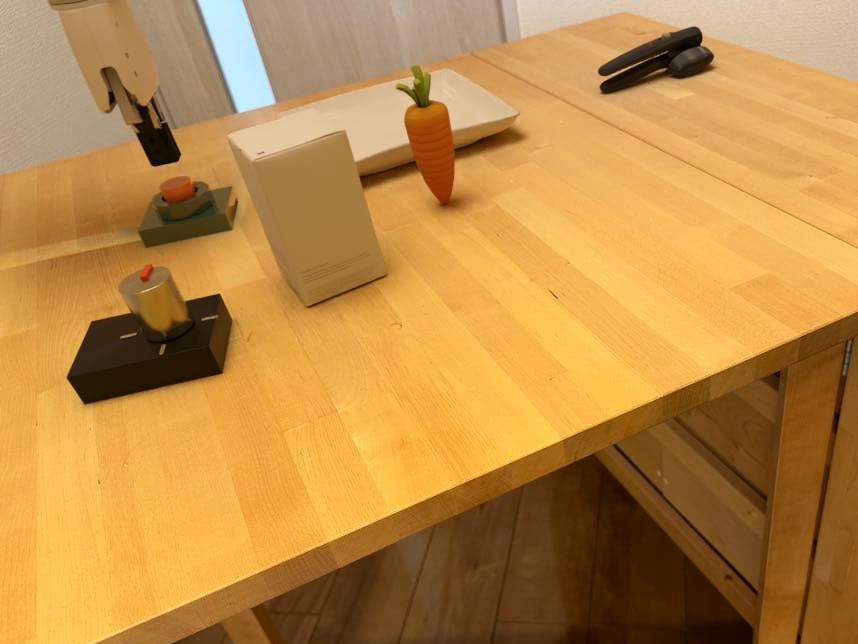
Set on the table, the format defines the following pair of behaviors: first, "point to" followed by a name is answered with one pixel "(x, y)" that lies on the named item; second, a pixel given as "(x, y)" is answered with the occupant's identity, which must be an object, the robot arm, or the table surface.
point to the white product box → (310, 203)
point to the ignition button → (177, 189)
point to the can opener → (658, 58)
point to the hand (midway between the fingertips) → (167, 161)
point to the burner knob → (156, 303)
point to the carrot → (430, 136)
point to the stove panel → (149, 353)
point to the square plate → (385, 109)
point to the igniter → (188, 216)
